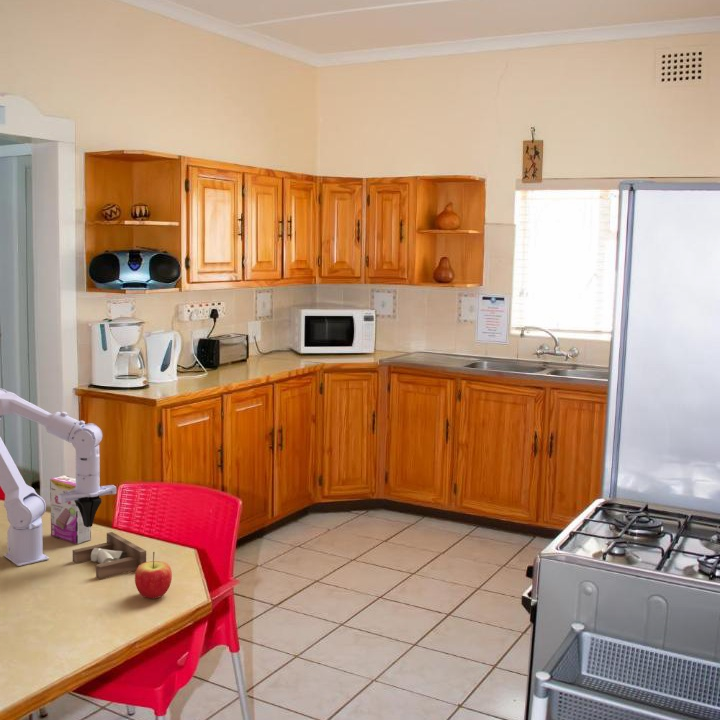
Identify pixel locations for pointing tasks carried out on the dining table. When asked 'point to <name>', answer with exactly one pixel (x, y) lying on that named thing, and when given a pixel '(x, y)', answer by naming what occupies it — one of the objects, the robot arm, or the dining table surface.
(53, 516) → the candy bar box
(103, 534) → the dining table surface
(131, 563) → the fitting jig
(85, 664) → the dining table surface
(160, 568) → the apple
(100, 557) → the pipe fitting
